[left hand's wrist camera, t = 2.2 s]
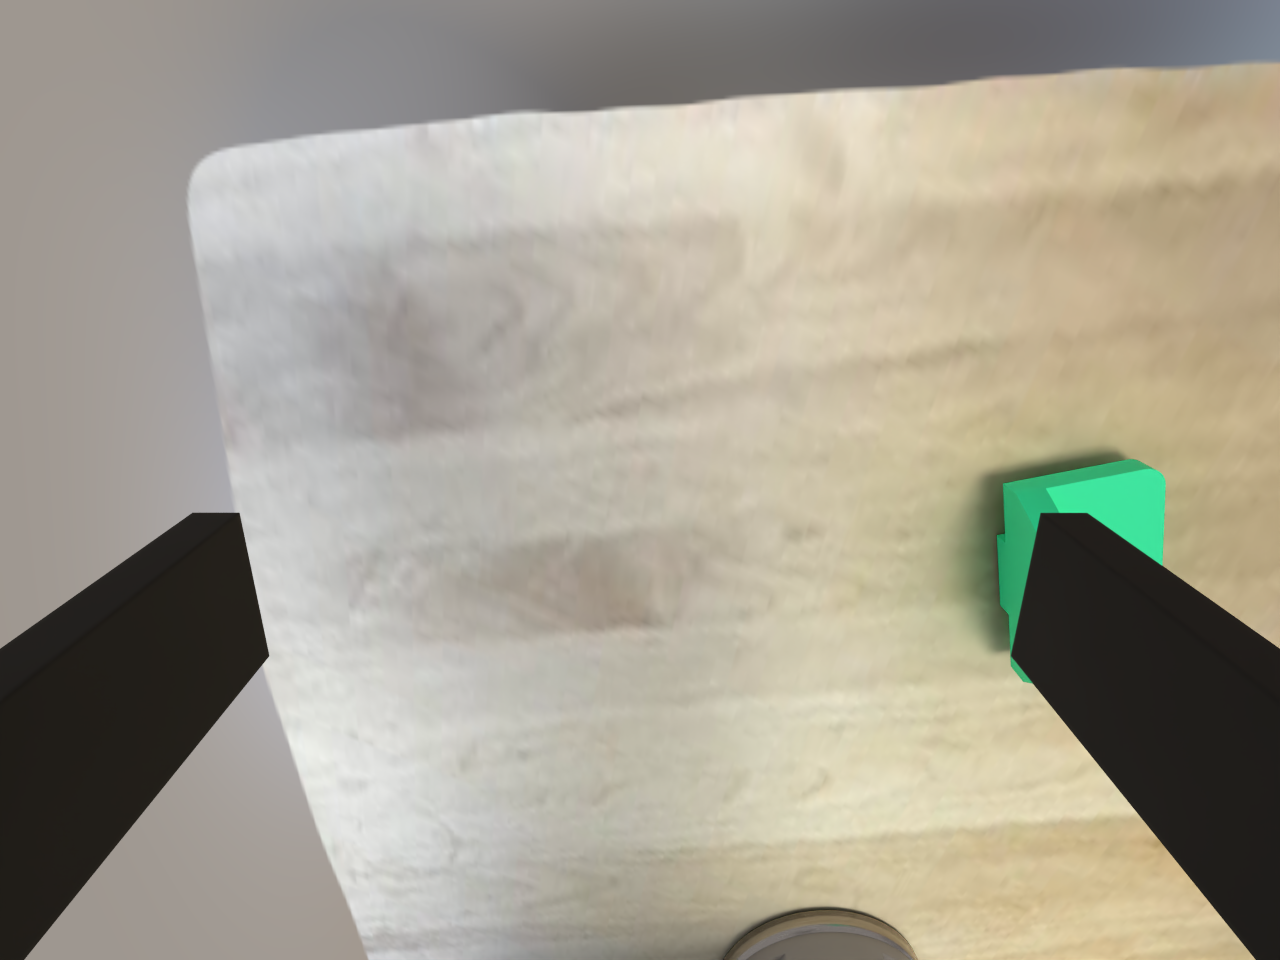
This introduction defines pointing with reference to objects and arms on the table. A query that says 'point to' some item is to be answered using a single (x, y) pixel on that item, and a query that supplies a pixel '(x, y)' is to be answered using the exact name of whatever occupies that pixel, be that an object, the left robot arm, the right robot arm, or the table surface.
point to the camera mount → (1105, 491)
